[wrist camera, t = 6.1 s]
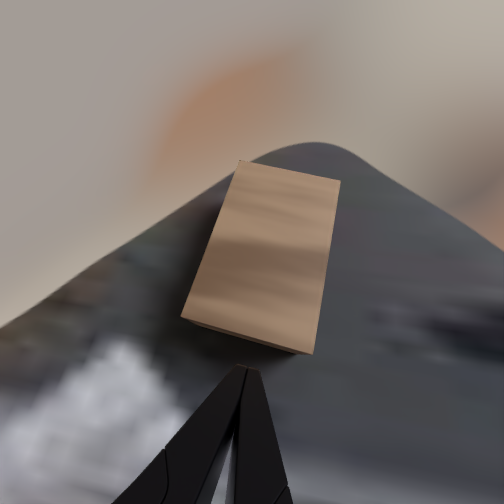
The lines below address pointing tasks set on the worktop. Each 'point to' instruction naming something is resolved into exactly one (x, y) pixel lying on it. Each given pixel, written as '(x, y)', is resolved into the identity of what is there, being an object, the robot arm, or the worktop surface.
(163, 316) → the worktop surface
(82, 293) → the worktop surface
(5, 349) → the worktop surface
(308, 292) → the walnut block
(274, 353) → the worktop surface
